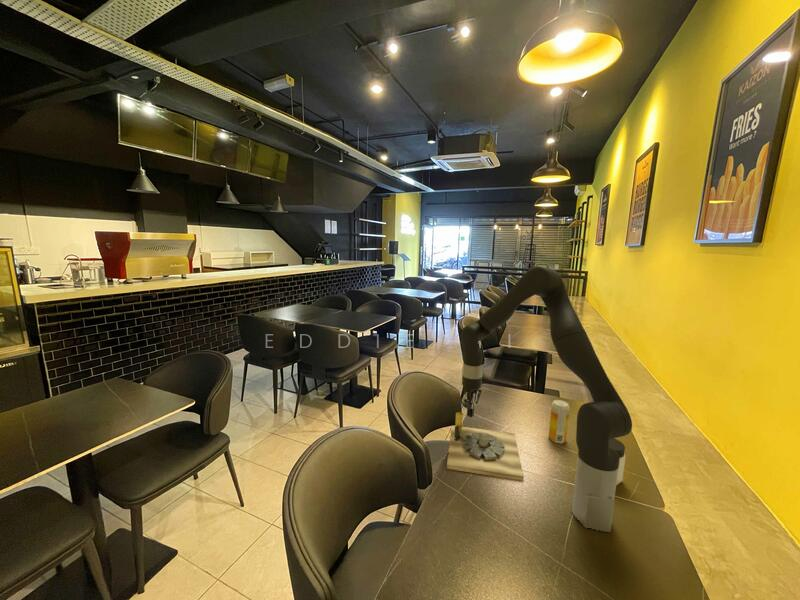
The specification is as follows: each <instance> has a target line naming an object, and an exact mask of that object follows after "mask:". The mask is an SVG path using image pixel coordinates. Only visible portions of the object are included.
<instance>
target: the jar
mask: <svg viewBox="0 0 800 600" xmlns="http://www.w3.org/2000/svg"><path fill="white" fill-rule="evenodd" d="M609 446H610V447H611V448H613V449H614V450H615V451H616V452H617V453H618V455H619V459H620V461H619V469H618V476H617V483H616V486H618V485H619V484H620V483H621V484H622V482H623V478H624V472H625V465H626V463H625V462H626V456H627V455H626V454H625V451H626V446H625V444H624V443H623V442H622V441H621V440H619V439H616V438H613V439H609Z"/></svg>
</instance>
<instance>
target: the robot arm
mask: <svg viewBox="0 0 800 600" xmlns="http://www.w3.org/2000/svg"><path fill="white" fill-rule="evenodd" d="M533 296H539V297H540V299H541V300H542V302H543V303H544V305H545V308H546V310H547V312H548V315H549V321H550V322H549V324H550V325H549V331H550V332H549V333H550V338H551V340H552V341H551V342H552V343H553V346H554V349H555V351H556V353H557V355H558V357H559V360H560V361H561V362H562V363H563V364H564V365H565V367H567V368H568V369H569V370H570V371H571V372H572V373H573V374H575V375H576V377H577V378H578V379H579V380H581V381H582V383H583V384H584V385H585V387H586V388H587V389H588V391H589V393H590V395H591V397H592V399H593V401H590V402H585V403H583V404H582V405H580V406H579V409H578V411H577V416H576V433H575V434H576V435H575V441H576V446H577V451H578V452H577V460H576V469H575V479H574V486H573V496H572V504H571V505H572V506H571V511H572V514H573V517H575V518H577V519H576V520H577V521H578V520H579V521H580V522H579V521H578V522H579V523H580V524H581V525H582V526H583V527H585V528H584V529H587V528H592V529H591V530H593V529H595V530H594V531H599V530H600V531H599V532H604V533H605V532H606V533H611V530H612V521H613V514H614V507H615V496H616V490H617V485H616V483H617V476H618V469H619V461H620V459H619V455H618V453H617V452H616V451H615V450H614V449H613V448H611V447H610V446H609V439H613V438H615V439H616V438H621V437H625V436H627V435H629V434H630V433H631V431H632V427H633V422H632V421H633V420H632V418H631V414H630V412H629V410H628V408H627V407H626V405H625V403H624V401H623V400H622V398H621V397H620V394H619V393H618V391H617V390H616V388H615V387H614V385H613V383H612V382H611V380H610V378H609V376H608V374H607V373H606V370H605V369H604V367H603V365H602V363H601V361H600V359H599V357H598V355H597V353H596V351H595V349H594V346H593V344H592V342H591V340H590V338H589V335H588V334H587V332H586V330H585V328H584V326H583V324H582V322H581V320H580V318H579V316H578V314H577V312H576V311H575V308H574V307H573V304H572V303H571V300H570V297H569V293H568V292H567V288H566V285H565V283H564V280H563V277H562V276H561V275H560V273H559V272H557V270H555V269H552V268H550V267H547V266H543V265H534V266H533V267H530V269H528V270H527V271H526V272H525V273H524V274H523V275H522V277H520V278H519V280H518V281H517V282H516V283H515V284H514V285H513V286H512V287H511V288H510V290H508V292H506V294H504V296H503V297H502V298H501V299H500V300H499V301H498V302H497V303H495V304H493V305H492V306H491V307H490V308H489V309H488V310H486V311H485V312H484V313H483V314H481V316H480V318H479V319H478V320H477V321H475V322H473V323H471V324H468V325H466V326H464V327H463V328H462V330H461V333H460V340H461V345H462V351H463V364H462V369H461V370H462V375H461V386H462V387H463V388H464V391H463V394H464V395H463V397H460V398H459V400H460V402H461V404H462V405H463V407H464V408H466V416H467V417H469V418H472V417H474V415H475V408H476V405H478V403H479V400H480V398H481V395H482V389H481V388H482V386H483V385H482V384H483V351H482V349H481V348H480V347H479V342H481V341H484V339H486V338H487V337H488V336H489V335H490V334H492V332H494V330H496V329H498V328H499V327H501V326H502V325H504V324H505V323H506V322H507V321H509V320H510V319H511V318H512V317H513V315H514V313H515V312H516V310H517V309H518V308H519V306H520V305H522V303H524V302H525V301H526V300H528V299H530V298H531V297H533Z"/></svg>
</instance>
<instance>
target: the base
mask: <svg viewBox="0 0 800 600" xmlns="http://www.w3.org/2000/svg"><path fill="white" fill-rule="evenodd" d="M481 432H482V433H481ZM462 433H463V434H466V435H468V434H469V435H472V433H480V434H479V443H478V444H477V446H478V447H481V448H483V449H484V448H489V447H490V446H489V445H488V437H489V435H488V434H490V435H492V436H495V437H497V440H501V442H502V443H503V445H504V446H505V448H504V449H505V452H504V454H503V455H502V456H501V457H500V458H499V457H497V458H496V460H485V459H484V458H483V456H482V457H481V459H478V458H476V457H474V456H471V455H469V452H466V451H465V449H464V447H463V440H461V439H458V434H459V427H455V425H451V429H450V434H449V435H450V436H449V444H448V445H449V446H448V451H447V452H448V453H449V454H448V453H447V459H446V460H447V462H446V469H447V470H452V471H458V472H466V473H471V474H478V475H484V476H490V477H498V478H502V479H503V478H504V479H509V480H510V479H511V480H515V481H523V482H524V479H525V477H524V472H523V468H522V463H521V458H520V454H519V448H518V443H517V440H516V436H515V433H513V432H505V431H498V430H489V429H483V428H476V427H475V428H474V427H467V426H466V427H465V426H462ZM455 438H456V439H455ZM454 440H455V441H454Z"/></svg>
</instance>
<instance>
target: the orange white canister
mask: <svg viewBox="0 0 800 600" xmlns="http://www.w3.org/2000/svg"><path fill="white" fill-rule="evenodd" d="M550 406H551V407H550V416H549V417H550V418H549V429H548V438H550V440H551V441H552V442H553V443H555V444H561V445H562V444H565V443H566V442H567V438H568V429H569V428H568V426H569V417H570V411H571V410H570V409H571V407H570V403H568V402H567V401H564V400H562V399H554V400H553V401H552V402H551V405H550Z"/></svg>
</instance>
